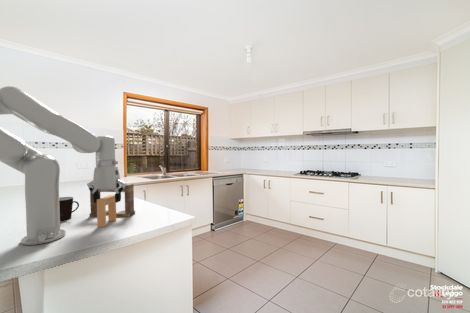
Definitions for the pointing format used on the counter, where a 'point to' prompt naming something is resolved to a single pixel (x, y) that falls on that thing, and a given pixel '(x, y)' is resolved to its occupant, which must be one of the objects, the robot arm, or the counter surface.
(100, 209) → the tan c-shaped bracket
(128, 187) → the rack
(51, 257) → the counter surface
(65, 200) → the coffee mug
